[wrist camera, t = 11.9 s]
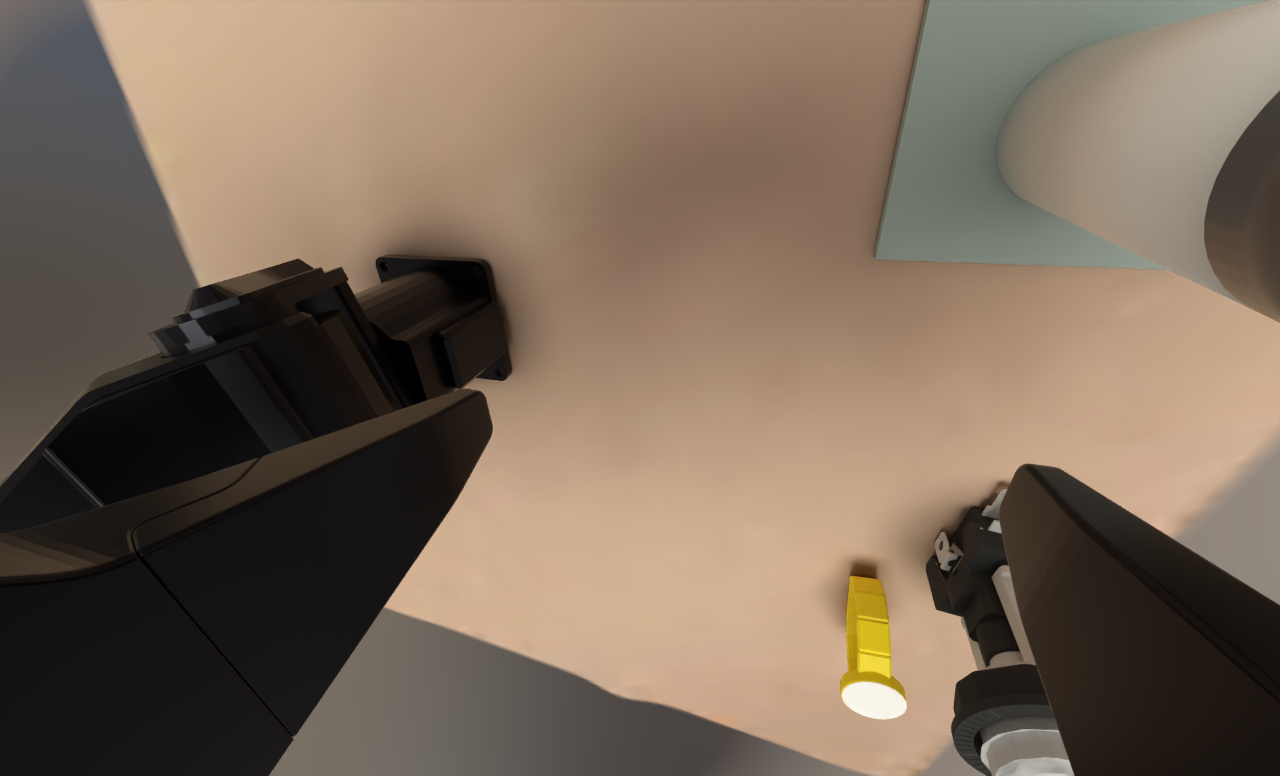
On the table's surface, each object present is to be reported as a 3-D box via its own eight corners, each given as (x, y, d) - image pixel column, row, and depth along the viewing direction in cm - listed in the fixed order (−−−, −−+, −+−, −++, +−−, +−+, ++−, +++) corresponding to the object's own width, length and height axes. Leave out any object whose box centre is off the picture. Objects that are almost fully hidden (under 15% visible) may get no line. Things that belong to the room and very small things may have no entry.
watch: (837, 552, 26) (844, 649, 21) (893, 559, 25) (915, 662, 20) (832, 627, 28) (837, 731, 23) (883, 636, 28) (900, 746, 22)
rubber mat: (873, 254, 18) (875, 259, 17) (931, -21, 14) (935, -26, 13) (1213, 266, 15) (1228, 271, 15) (1410, -73, 11) (1437, -81, 11)
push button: (944, 467, 21) (1031, 696, 13) (1080, 498, 20) (1269, 769, 12) (892, 563, 25) (935, 789, 17) (1005, 593, 24) (1111, 853, 15)
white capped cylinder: (964, 180, 15) (1206, 310, 6) (1069, 14, 13) (1831, -266, 3) (1103, 227, 15) (1635, 463, 5) (1240, 64, 12) (2808, -88, 3)
